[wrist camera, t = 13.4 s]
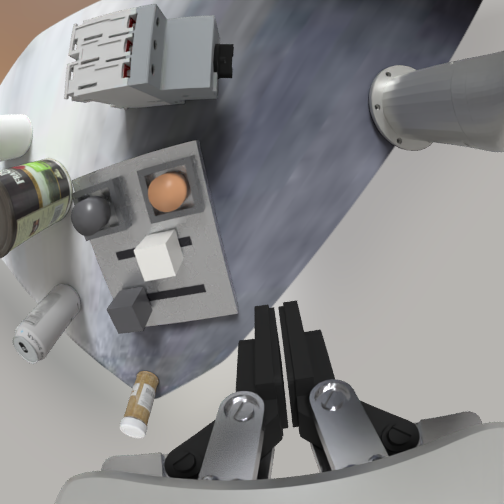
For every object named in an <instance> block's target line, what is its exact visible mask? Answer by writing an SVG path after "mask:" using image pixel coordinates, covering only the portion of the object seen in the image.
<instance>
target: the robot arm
mask: <svg viewBox="0 0 504 504" xmlns="http://www.w3.org/2000/svg"><path fill="white" fill-rule="evenodd" d="M386 75H387V76H386ZM369 106H370V112H371V115H372V119H373V121H374V123H375V125H376V127H377V128H378V130H379V131H380V133H381V134H382V135H383V136H384V137H385V139H386V140H388V141H389V142H390V143H391V144H393V145H395V146H397V147H398V148H401V149H405V150H411V151H418V150H422V149H425V148H427V147H428V146H430V145H431V144H432V143H433V142H437V143H444V144H451V145H458V146H465V147H470V148H476V149H482V150H486V151H491V152H504V51H501V52H497V53H492V54H488V55H483V56H478V57H472V58H467V59H463V60H459V61H453V62H449V63H444V64H440V65H436V66H432V67H428V68H424V69H420V70H415V69H413V68H411V67H408V66H402V65H398V66H392V67H389V68H386V69H384V70H382V71H381V72H380V73H379V74H378V75H377V76H376V77H375V79H374V80H373V82H372V85H371V88H370V92H369ZM375 107H376V109H375ZM397 140H398V141H397ZM279 316H280V323H281V330H282V339H283V346H284V355H285V363H286V372H287V380H288V388H289V397H290V406H291V413H292V423H293V427H299V434H300V436H301V437H302V438H304V439H305V440H307V441H309V442H310V444H311V448H312V451H313V454H314V457H315V460H316V463H317V466H318V468H319V471H320V473H316V474H310V475H303V476H295V477H287V478H276V479H271V472H272V465H273V458H274V451H275V449H274V447H275V446H276V445H277V444H278V443H279V442H280V441H281V440H282V436H283V429H284V428H288V420H287V410H286V400H285V391H284V381H283V371H282V361H281V354H280V346H279V339H278V332H277V326H276V318H275V311H274V308H269V306H268V305H262V306H255V339H250V340H240V341H239V345H238V363H237V379H236V393H232V394H231V395H229V396H227V397H226V398H225V399H224V400H223V401H222V403H221V404H220V407H219V410H218V413H217V417H216V420H214V421H213V422H212V423H210V424H209V425H207V426H206V427H205V428H203V429H202V430H201V431H199V432H198V433H197V434H195V435H194V436H192V437H191V438H190V439H188V440H187V441H185V442H184V443H182V444H181V445H179V446H178V447H177V448H175V449H174V450H172V451H171V452H170V453H169V454H162V453H151V454H141V455H122V456H113V457H110V458H108V459H106V461H105V462H104V463H103V465H102V469H101V471H92V472H86V473H82V474H78V475H75V476H73V477H72V478H70V479H69V480H67V482H66V483H65V484H64V485H63V487H62V488H61V490H60V492H59V494H58V496H57V498H56V501H55V504H504V422H489V423H484V424H482V421H481V419H480V417H479V416H478V415H477V414H476V413H473V412H470V411H469V412H461V413H456V414H451V415H446V416H441V417H436V418H429V419H422V420H420V422H418V423H412V422H410V421H408V420H406V419H403V418H401V417H398V416H396V415H393V414H390V413H388V412H385V411H383V410H381V409H378V408H376V407H374V406H371V405H369V404H367V403H364V402H362V401H360V400H359V399H358V397H357V395H356V393H355V391H354V389H353V388H352V387H351V386H350V385H349V384H348V383H346V382H344V381H341V380H335V377H334V374H333V370H332V367H331V363H330V360H329V356H328V353H327V349H326V346H325V342H324V339H323V336H322V332H321V330H315V331H309V332H304V330H303V326H302V321H301V317H300V312H299V308H298V304H297V301H291V302H284V303H283V306H281V307H279Z"/></svg>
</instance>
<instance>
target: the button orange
mask: <svg viewBox="0 0 504 504" xmlns="http://www.w3.org/2000/svg"><path fill="white" fill-rule="evenodd" d="M188 194H189V184H188V181H187V180H186V178H185V177H184V176H183V175H182V174H180V173H178V172H167V173H164V174H162V175H160V176H158V177H156V178H155V179H154V180H153V181H152V182H151V184H150V186H149V188H148V198H149V201H150V203H151V204H152V206H153V207H154V208H156V209H157V210H159V211H162V212H171V211H174V210H176V209H177V208H178V207H179V206H180V205H181V204H182V203H183V202H184V201H185V200H186V198H187V196H188Z"/></svg>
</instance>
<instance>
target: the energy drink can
mask: <svg viewBox="0 0 504 504" xmlns="http://www.w3.org/2000/svg"><path fill="white" fill-rule="evenodd" d="M79 310H80V297H79V295H78V293H77V292H76V290H75V289H74V288H72V287H71V286H69V285H65V284H64V285H63V284H59V285H57V286H56V287H54V288H53V289H52V290H51V291H50V292H49V294H48V295H47V296H46V297H45V298H44V299H43V300H42V301H41V302H40V303H39V304H38V305H37V306H36V307H35V308H34V309H33V310H32V311H31V312H30V313H29V315H28V316H27V317H26V318H25V319H24V320H23V321H22V322H21V323H20V325H19V326H18V327H17V328H16V330H15V337H14V338H13V345H14V347H15V349H16V351H17V352H18V354H19V355H20V356H21V357H22V358H23V359H25V360H26V361H27V362H29V363H33V364H35V363H37V362H38V361H39V360H42V359H44V358H45V357H46V356H47V354H48V353H49V351H50V350H51V349H52V347H53V346H54V344H55V343H56V341H57V340H58V339H59V337H60V336H61V334H62V333H63V332H64V330H65V329H66V328H67V326H68V325H69V324H70V322H71V321H72V320H73V318H74V317H75V316H76V314H77V313H78V312H79Z"/></svg>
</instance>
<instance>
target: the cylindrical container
mask: <svg viewBox="0 0 504 504" xmlns="http://www.w3.org/2000/svg"><path fill="white" fill-rule="evenodd" d="M32 136H33V129H32V123H31V121H30V119H29V118H28V117H27V116H26V115H0V162H1V161H5V160H9V159H14V158H18V157H21V156H23V155H24V154H25V153H26V152H27V150H28V149H29V147H30V144H31V141H32Z"/></svg>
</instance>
